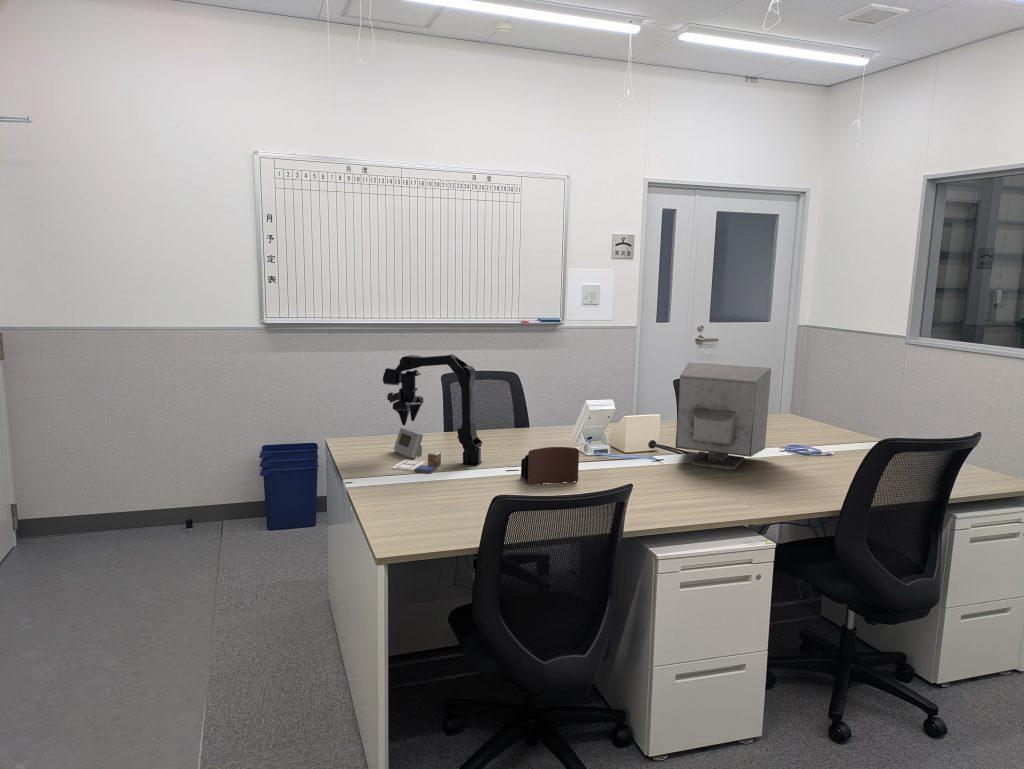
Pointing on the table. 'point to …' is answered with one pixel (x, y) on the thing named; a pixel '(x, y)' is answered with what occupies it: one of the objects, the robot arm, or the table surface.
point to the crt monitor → (722, 412)
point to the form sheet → (408, 465)
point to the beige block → (434, 459)
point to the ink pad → (425, 469)
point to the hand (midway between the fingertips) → (408, 423)
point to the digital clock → (408, 443)
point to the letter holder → (550, 465)
